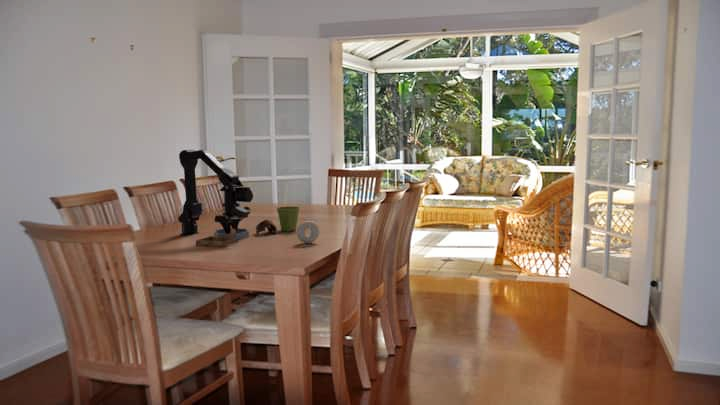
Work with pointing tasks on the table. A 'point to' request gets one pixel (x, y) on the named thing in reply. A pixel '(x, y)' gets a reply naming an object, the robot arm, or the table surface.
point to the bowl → (239, 234)
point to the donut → (303, 227)
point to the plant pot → (288, 217)
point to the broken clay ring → (267, 224)
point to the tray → (216, 241)
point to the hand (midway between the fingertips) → (231, 235)
